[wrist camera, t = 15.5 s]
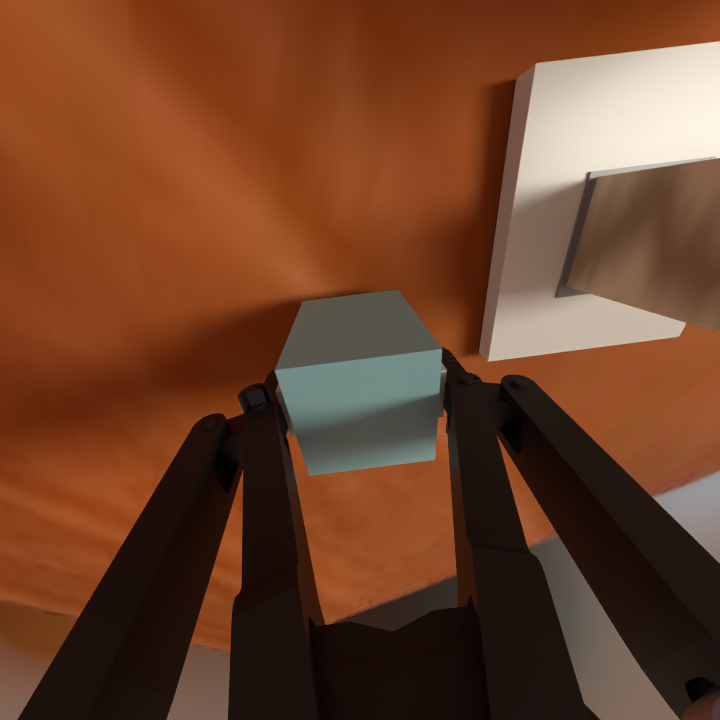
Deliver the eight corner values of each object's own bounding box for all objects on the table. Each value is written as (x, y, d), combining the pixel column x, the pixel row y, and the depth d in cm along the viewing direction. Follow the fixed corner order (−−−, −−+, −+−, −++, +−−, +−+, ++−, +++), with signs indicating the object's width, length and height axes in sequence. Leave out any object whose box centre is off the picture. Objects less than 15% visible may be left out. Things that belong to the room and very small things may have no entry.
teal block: (302, 301, 16) (274, 370, 9) (398, 289, 16) (442, 349, 9) (320, 379, 19) (309, 476, 12) (400, 369, 19) (434, 459, 12)
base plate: (516, 78, 13) (538, 61, 12) (800, 44, 13) (857, 23, 12) (478, 352, 21) (489, 362, 20) (657, 329, 21) (681, 337, 20)
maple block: (597, 176, 14) (851, 137, 7) (703, 163, 14) (1059, 111, 7) (566, 286, 17) (723, 334, 10) (654, 275, 17) (871, 315, 10)
